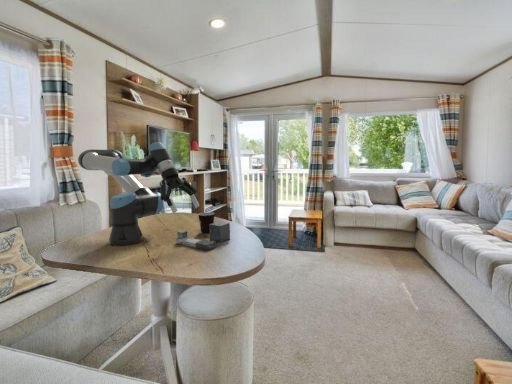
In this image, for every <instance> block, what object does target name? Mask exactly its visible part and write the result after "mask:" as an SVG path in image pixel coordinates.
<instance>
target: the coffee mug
mask: <svg viewBox="0 0 512 384" xmlns="http://www.w3.org/2000/svg"><path fill="white" fill-rule="evenodd" d="M197 216H198V220H199V227H200V232H201V234H210V232H209V224H212V223H215V212H199V213H198V215H197Z"/></svg>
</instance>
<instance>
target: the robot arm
mask: <svg viewBox="0 0 512 384" xmlns="http://www.w3.org/2000/svg"><path fill="white" fill-rule="evenodd" d="M148 152H149V154H148V155H147V156H146V157H145V158H125V157H124V154H123V153H122V152H121V151H120V150H117V149H86V150H84V151H82V152H80V154H79V155H78V158H77V159H78V160H77V161H78V164H79V166H80V167H81V168H82V169H84V170H87V171H103V172H104V173H105V174H106V175H108V176H111V177H112V178H113V179H114V180H115V181H116V182H117V183H118V185H119V186H120V187H121V188H122V190H124V191H125V192H124V193H120V194H115V195H113V196H112V197H111V198H110V200H109V201H110V202H109V208H110V217H111V230H110V234H109V238H108V242H109V243H110V244H112V245H111V246H114V245H120V246H119V247H122V245H123V246H130V245H131V246H132V245H134V244H138V243H140V242H142V241H144V237H143V235H144V234H143V233H142V229H141V228H140V226H139V218H144V217H150V216H155V215H157V214H160V213H161V212H162V211H163V208H164V206H165V205H164V204H165V203H166V204H167V207H169V208H170V210H171V212H172V213H173V214H175V213H177V212H178V211H179V210H178V208H177V206H176V204H175V202H174V199H173V198H172V197H171V194H172V192H173V191H172V190H175V189H179V190H182V191H183V192H185V193H186V194H187V195H189V198H190V200H191V202H192V204H193V206H194V208H195V209H198V208H199V207H200V203H199V201H198V198H197V196H196V194H197V193H198V190H196V189H195V187H193V185H192V184H191V183H189V181H188V180H187V179H186V178H185V177H182V178H180V177H179V173H178V170H177V169H176V167H175V164H174V163H173V161H172V159H171V157H170V155H169V153H168V151H167V148H166V147H165V145H164V144H163V143H162V142H160V141H158V142H157V141H156V142H153V143H151V144H149V145H148ZM157 170H158V172H159V174H160V176H161V178H162V179H161V181H160V182H159V186H160V192H157V191H154V192H153V191H152V190H151V189H150V188H149V187H147V186H144V185H143V184H141V183H140V181H139V180H138V179H137V177H136V176H134V175H140V176H141V177H144V178H150V177H152V176H153V175H154V174H155V172H156V171H157ZM166 186H167V187H166ZM166 189H167V190H166ZM109 243H108V244H109ZM110 244H109V245H110Z"/></svg>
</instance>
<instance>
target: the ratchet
mask: <svg viewBox="0 0 512 384" xmlns="http://www.w3.org/2000/svg"><path fill="white" fill-rule="evenodd" d="M176 232H177V237H176V238H175V243H176V245H180V246H181V245H182V246H187V247H190V248H195V249H198V250H202V251H206V252H207V251H209V250H212V249H214V248H217V247H216V245H217V244H216V243H217V242H215V241H210V240H208V239H202V240H201V239H197V238H196V239H195V238H193V237H191V238H190V237H189V236H188V230H183V229H182V230H180V231H179V230H178V231H176Z"/></svg>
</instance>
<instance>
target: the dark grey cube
mask: <svg viewBox="0 0 512 384" xmlns="http://www.w3.org/2000/svg"><path fill="white" fill-rule="evenodd" d="M230 229H231V227H230V222H224V221H215V222H214V223H212V224H209V232H210V233H209V241H214V242H215V241H216V243H220V242H221V243H223V242H225V240H226V241H228V239H229V240H231V230H230Z"/></svg>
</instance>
